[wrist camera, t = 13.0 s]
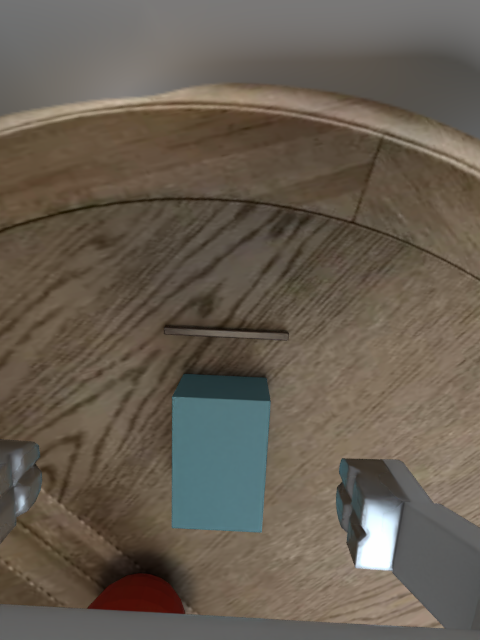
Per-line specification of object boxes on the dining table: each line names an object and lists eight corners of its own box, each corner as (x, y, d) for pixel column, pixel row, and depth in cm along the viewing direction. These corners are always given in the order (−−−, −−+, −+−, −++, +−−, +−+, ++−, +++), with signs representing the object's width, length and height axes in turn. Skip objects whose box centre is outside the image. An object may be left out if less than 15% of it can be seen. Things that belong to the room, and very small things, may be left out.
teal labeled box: (171, 529, 26) (182, 488, 30) (261, 533, 26) (259, 492, 30) (172, 396, 24) (183, 373, 28) (270, 401, 24) (266, 377, 28)
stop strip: (165, 325, 27) (163, 327, 27) (288, 331, 27) (288, 333, 27) (165, 332, 27) (163, 334, 27) (287, 338, 27) (288, 340, 27)
